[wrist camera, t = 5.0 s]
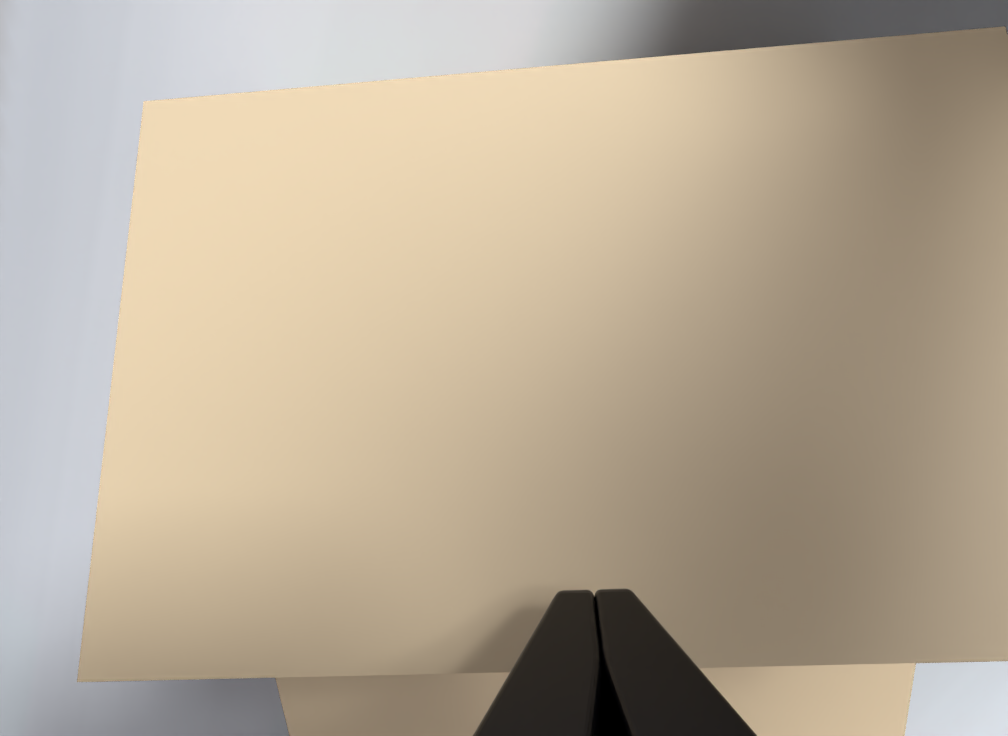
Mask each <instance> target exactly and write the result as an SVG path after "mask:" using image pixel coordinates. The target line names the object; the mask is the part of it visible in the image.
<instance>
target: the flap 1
mask: <svg viewBox="0 0 1008 736" xmlns="http://www.w3.org/2000/svg"><path fill="white" fill-rule="evenodd" d="M623 588H626V589H629V590H631V591H633V592H634V594H635V595H636V596H637V597H638V598H639V599H640V601H641V602H642V603H643V604H644V605H645V606H646V608H647V609H648V610H649V611H650V612H651V613H652V614H653V616H654V617H655V618H656V619H657V620H658V621H659V623H660V624H661V625H662V626H663V627H664V628H665V630H666V631H667V632H668V633H669V634H670V635H671V636H672V638H673V639H674V640H675V641H676V642H677V643H678V645H679V646H680V647H681V648H682V649H683V650H684V652H685V653H686V654H687V655H688V656H689V657H690V658H691V660H692V661H693V662H694V663H695V664H696V665H697V667H698V668H722V667H766V666H811V665H855V664H899V663H943V662H987V661H1008V35H1007V31H1006V27H1005V26H1003V27H992V28H980V29H969V30H957V31H946V32H934V33H923V34H911V35H900V36H888V37H877V38H865V39H854V40H842V41H831V42H819V43H808V44H796V45H785V46H773V47H762V48H751V49H739V50H728V51H716V52H705V53H693V54H682V55H670V56H659V57H647V58H636V59H624V60H613V61H601V62H590V63H578V64H567V65H555V66H544V67H532V68H521V69H510V70H498V71H487V72H475V73H464V74H452V75H441V76H429V77H418V78H406V79H395V80H383V81H372V82H360V83H349V84H337V85H326V86H314V87H303V88H291V89H280V90H269V91H257V92H246V93H234V94H223V95H211V96H200V97H188V98H177V99H165V100H154V101H144V103H143V112H142V121H141V129H140V138H139V147H138V155H137V164H136V173H135V181H134V190H133V199H132V208H131V216H130V225H129V234H128V242H127V251H126V260H125V269H124V277H123V286H122V295H121V303H120V312H119V321H118V329H117V338H116V347H115V356H114V364H113V373H112V382H111V390H110V399H109V408H108V417H107V425H106V434H105V443H104V451H103V460H102V469H101V477H100V486H99V495H98V504H97V512H96V521H95V530H94V538H93V547H92V556H91V565H90V573H89V582H88V591H87V599H86V608H85V617H84V626H83V634H82V643H81V652H80V660H79V669H78V678H77V682H103V681H147V680H192V679H236V678H280V677H324V676H368V675H413V674H457V673H501V672H510V671H511V670H512V668H513V666H514V665H515V663H516V661H517V659H518V658H519V656H520V654H521V653H522V651H523V649H524V647H525V646H526V644H527V642H528V641H529V639H530V637H531V636H532V634H533V632H534V630H535V629H536V627H537V625H538V624H539V622H540V620H541V618H542V617H543V615H544V613H545V612H546V610H547V608H548V607H549V605H550V603H551V601H552V600H553V598H554V596H555V595H556V593H557V592H559V591H562V590H590V591H592V593H593V594H594V596H595V592H596V591H597V590H599V589H623Z"/></svg>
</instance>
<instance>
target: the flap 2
mask: <svg viewBox="0 0 1008 736" xmlns="http://www.w3.org/2000/svg"><path fill="white" fill-rule="evenodd" d="M915 665H916V663H899V664H855V665H811V666H766V667H722V668H699V669H700V670H701V671H702V672H703V674H704V675H705V676H706V677H707V678H708V679H709V680H710V682H711V683H712V684H713V685H714V686H715V687H716V689H717V690H718V691H719V692H720V693H721V694H722V696H723V697H724V698H725V699H726V700H727V701H728V702H729V704H730V705H731V706H732V707H733V708H734V709H735V711H736V712H737V713H738V714H739V715H740V716H741V718H742V719H743V720H744V721H745V722H746V723H747V724H748V726H749V727H750V728H751V729H752V730H753V731H754V733H755V734H756V735H757V736H904V735H905V728H906V722H907V716H908V709H909V703H910V697H911V691H912V684H913V678H914V672H915ZM509 673H510V672H501V673H457V674H413V675H368V676H324V677H280V678H275V679H276V683H277V687H278V691H279V695H280V699H281V703H282V707H283V711H284V715H285V720H286V724H287V728H288V732H289V736H473V734H474V733H475V731H476V729H477V728H478V726H479V724H480V722H481V721H482V719H483V717H484V716H485V714H486V712H487V711H488V709H489V707H490V705H491V704H492V702H493V700H494V699H495V697H496V695H497V694H498V692H499V690H500V688H501V687H502V685H503V683H504V682H505V680H506V678H507V676H508V675H509Z"/></svg>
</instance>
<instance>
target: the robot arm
mask: <svg viewBox="0 0 1008 736" xmlns="http://www.w3.org/2000/svg"><path fill="white" fill-rule="evenodd" d="M473 736H757V735H756V734H755V733H754V731H753V730H752V729H751V728H750V727H749V726H748V724H747V723H746V722H745V721H744V720H743V719H742V718H741V716H740V715H739V714H738V713H737V712H736V711H735V709H734V708H733V707H732V706H731V705H730V704H729V702H728V701H727V700H726V699H725V698H724V697H723V696H722V694H721V693H720V692H719V691H718V690H717V689H716V687H715V686H714V685H713V684H712V683H711V682H710V680H709V679H708V678H707V677H706V676H705V675H704V674H703V672H702V671H701V670H700V669H699V668H698V667H697V665H696V664H695V663H694V662H693V661H692V660H691V658H690V657H689V656H688V655H687V654H686V653H685V652H684V650H683V649H682V648H681V647H680V646H679V645H678V643H677V642H676V641H675V640H674V639H673V638H672V636H671V635H670V634H669V633H668V632H667V631H666V630H665V628H664V627H663V626H662V625H661V624H660V623H659V621H658V620H657V619H656V618H655V617H654V616H653V614H652V613H651V612H650V611H649V610H648V609H647V608H646V606H645V605H644V604H643V603H642V602H641V601H640V599H639V598H638V597H637V596H636V595H635V594H634V592H633V591H631V590H629V589H626V588H623V589H599V590H597V591H596V592H595V596H594V594H593V593H592V591H590V590H562V591H559V592H557V593H556V595H555V596H554V598H553V600H552V601H551V603H550V605H549V607H548V608H547V610H546V612H545V613H544V615H543V617H542V618H541V620H540V622H539V624H538V625H537V627H536V629H535V630H534V632H533V634H532V636H531V637H530V639H529V641H528V642H527V644H526V646H525V647H524V649H523V651H522V653H521V654H520V656H519V658H518V659H517V661H516V663H515V665H514V666H513V668H512V670H511V671H510V673H509V675H508V676H507V678H506V680H505V682H504V683H503V685H502V687H501V688H500V690H499V692H498V694H497V695H496V697H495V699H494V700H493V702H492V704H491V705H490V707H489V709H488V711H487V712H486V714H485V716H484V717H483V719H482V721H481V722H480V724H479V726H478V728H477V729H476V731H475V733H474V734H473Z"/></svg>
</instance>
